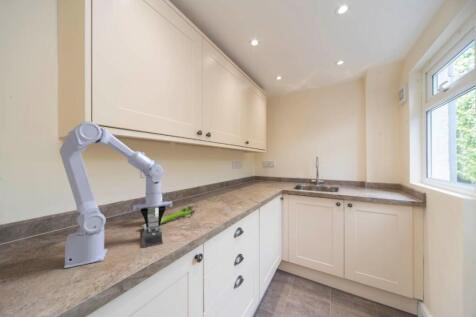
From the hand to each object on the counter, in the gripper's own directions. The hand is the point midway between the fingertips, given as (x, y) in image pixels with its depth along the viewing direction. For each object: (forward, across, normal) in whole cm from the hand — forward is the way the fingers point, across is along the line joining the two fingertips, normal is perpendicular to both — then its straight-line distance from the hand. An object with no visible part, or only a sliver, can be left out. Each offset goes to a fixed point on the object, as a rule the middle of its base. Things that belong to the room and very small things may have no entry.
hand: (153, 225), depth 75 cm
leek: (+5, -9, -18) cm, 21 cm away
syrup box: (+5, -1, -20) cm, 21 cm away
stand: (+5, +1, -1) cm, 5 cm away
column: (+5, 0, 0) cm, 5 cm away
